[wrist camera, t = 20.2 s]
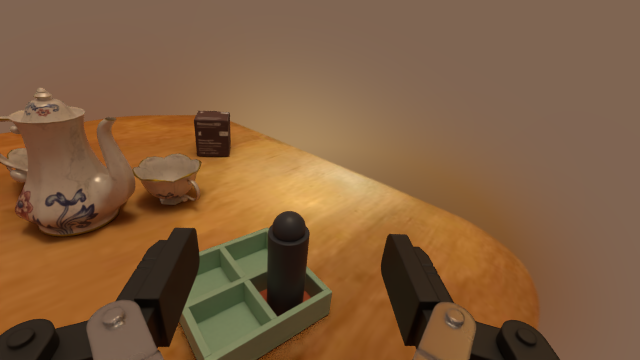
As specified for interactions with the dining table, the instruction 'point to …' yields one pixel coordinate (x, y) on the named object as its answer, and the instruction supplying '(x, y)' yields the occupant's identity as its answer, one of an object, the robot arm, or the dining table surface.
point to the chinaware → (82, 170)
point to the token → (286, 262)
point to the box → (212, 133)
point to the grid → (244, 303)
